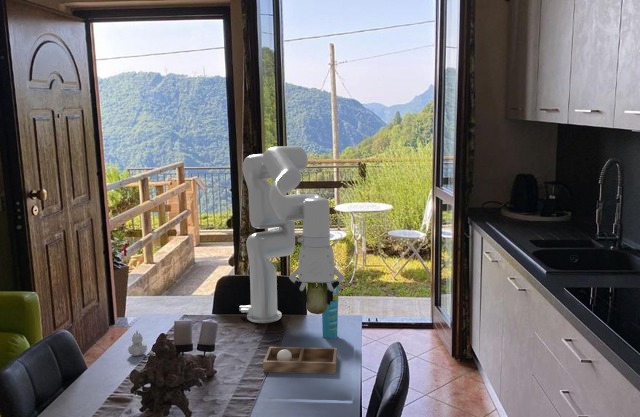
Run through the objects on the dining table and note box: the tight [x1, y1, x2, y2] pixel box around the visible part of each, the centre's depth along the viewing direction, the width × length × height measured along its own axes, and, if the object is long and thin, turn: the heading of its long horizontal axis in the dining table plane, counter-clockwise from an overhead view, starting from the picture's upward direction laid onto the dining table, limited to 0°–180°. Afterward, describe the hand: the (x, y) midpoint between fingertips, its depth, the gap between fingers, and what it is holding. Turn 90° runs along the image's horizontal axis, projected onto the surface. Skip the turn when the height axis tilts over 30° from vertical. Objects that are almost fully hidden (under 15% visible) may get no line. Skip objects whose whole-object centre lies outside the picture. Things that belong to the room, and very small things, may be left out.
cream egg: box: [277, 349, 292, 361], centre depth 161 cm, size 4×4×4 cm
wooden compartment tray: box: [262, 346, 338, 375], centre depth 161 cm, size 20×11×4 cm, turn 86°
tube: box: [321, 278, 340, 340], centre depth 182 cm, size 7×5×19 cm, turn 134°
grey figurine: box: [128, 330, 148, 357], centre depth 169 cm, size 5×7×8 cm
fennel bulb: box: [305, 283, 328, 315], centre depth 157 cm, size 6×5×12 cm
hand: (317, 302), depth 158 cm, fingers closed on fennel bulb, 6 cm apart
